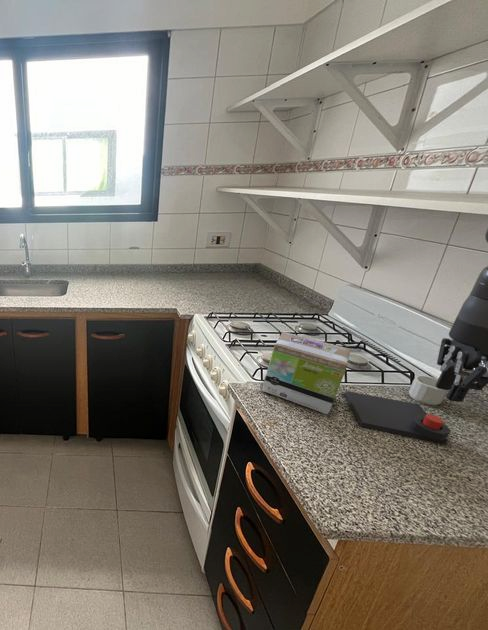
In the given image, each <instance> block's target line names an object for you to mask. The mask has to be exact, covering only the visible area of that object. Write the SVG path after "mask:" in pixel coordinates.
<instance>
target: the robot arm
mask: <svg viewBox="0 0 488 630" xmlns="http://www.w3.org/2000/svg"><path fill="white" fill-rule="evenodd" d="M484 235H485V236H484V238H485V239H484V240H485V241H486V243H487V244H488V228H486V231H485V234H484ZM448 336H449V338H445V337H443V338H442V339H441V342H440V347H439V351H438V355H437V361H436V365H438V366H440V369H439V371H440V372H441V373H440V375H439V377H438V378H437V379H438V381H437V383H436V385H435V386H436V387H437V388H438V389H443V390H448V392H447V394H446V396H445V398H446V399H447V400H448V401H451V402H456V403H461V402H463V401H464V400H465V398H466V396H467V394H468V392H469V390H475V391H481V390H483V388H485V387H486V386H487V385H488V265H487V266H485V267H483V269H482V270H481V271H480V273H479V275H478V277H477V278H476V280H475V283H474V284H473V287H472V289H471V290H470V293H469V294H468V296H467V298H466V299H465V300H464V301H463V303H462V305H461V307H460V309H459V311H458V313H457V315H456V317H455V320H454V322H453V324H452V325H451V328H450V330H449V332H448ZM465 376H466V377H465ZM464 377H465V378H464Z"/></svg>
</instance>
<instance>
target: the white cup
mask: <svg viewBox="0 0 488 630" xmlns="http://www.w3.org/2000/svg"><path fill="white" fill-rule="evenodd" d="M438 379H439V378H436V377H433V376H429V375H422V374H421V375H418V374H417V375H415V376H414V378H413V380H412V383H411V384H410V387H409V389H408V395H409V397H410V398H412V399H413V400H415V401H417V402H419V403H422V404H424V405H428V406H438V405H440V404H442V403H443V402H444V399H445V398H446V396H447V394H448V392H449V390H443V389H438V388H437V387H436V386H435V385H436V383H437V381H438Z"/></svg>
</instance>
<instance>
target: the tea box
mask: <svg viewBox="0 0 488 630" xmlns="http://www.w3.org/2000/svg"><path fill="white" fill-rule="evenodd" d="M350 355H351V348H350V347H349V348H348V347H344V346H340V345H336V344H333V343H328V342H326V341H321V340H317V339H313V338H310V337H305V336H301V335H298V334H294V333H291V332H286V331H282V332H281V334H280V335H279V337H278V339H277V341H276V342H275V344H274V346H273V349H272V351H271V356H270V360H269V363H268V367H267V370H266V372H265V373H266V374H265V378H264V380H263V384H262V385H263V386H262V390H261V392H263V393H267V394H270V395H272V396H276V397H279V398H282V399H284V400H287V401H290V402H291V403H295V404H297V405H299V406H300V405H301V406H304V407H306V408H308V409H311V410H314V411H316V412H319V413H322V414H324V415H329V413H330V411H331V409H332V406H333V404H334V403H335V399H336V397H337V393H338V391H339V388H340V386H341V383H342V381H343V378H344V376H345V373H346V370H347V368H348V364H349V357H350Z"/></svg>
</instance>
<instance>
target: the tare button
mask: <svg viewBox="0 0 488 630" xmlns="http://www.w3.org/2000/svg"><path fill="white" fill-rule="evenodd" d="M426 414H427V413H426ZM422 423H423V424H424V425H425V426H427V427H429V428H432V429H435V430H440V428H441V426H442V424H444V423H445V421H444V419H443V418H441V417H439V416H438V415H434V414H430V413H429V414H427V415H426V416H425V418H424V420H423V422H422Z"/></svg>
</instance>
